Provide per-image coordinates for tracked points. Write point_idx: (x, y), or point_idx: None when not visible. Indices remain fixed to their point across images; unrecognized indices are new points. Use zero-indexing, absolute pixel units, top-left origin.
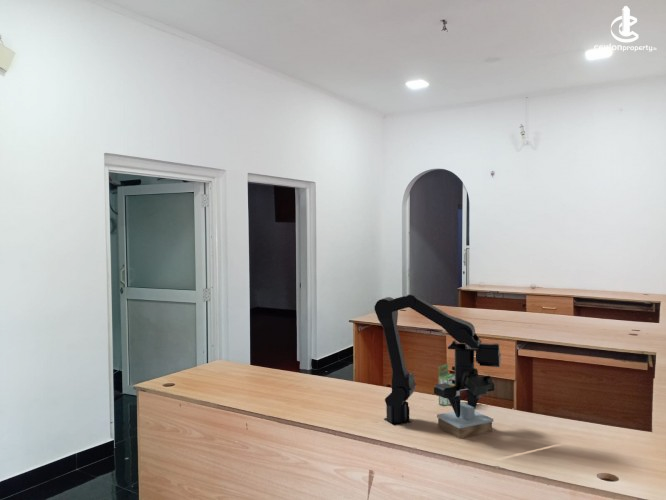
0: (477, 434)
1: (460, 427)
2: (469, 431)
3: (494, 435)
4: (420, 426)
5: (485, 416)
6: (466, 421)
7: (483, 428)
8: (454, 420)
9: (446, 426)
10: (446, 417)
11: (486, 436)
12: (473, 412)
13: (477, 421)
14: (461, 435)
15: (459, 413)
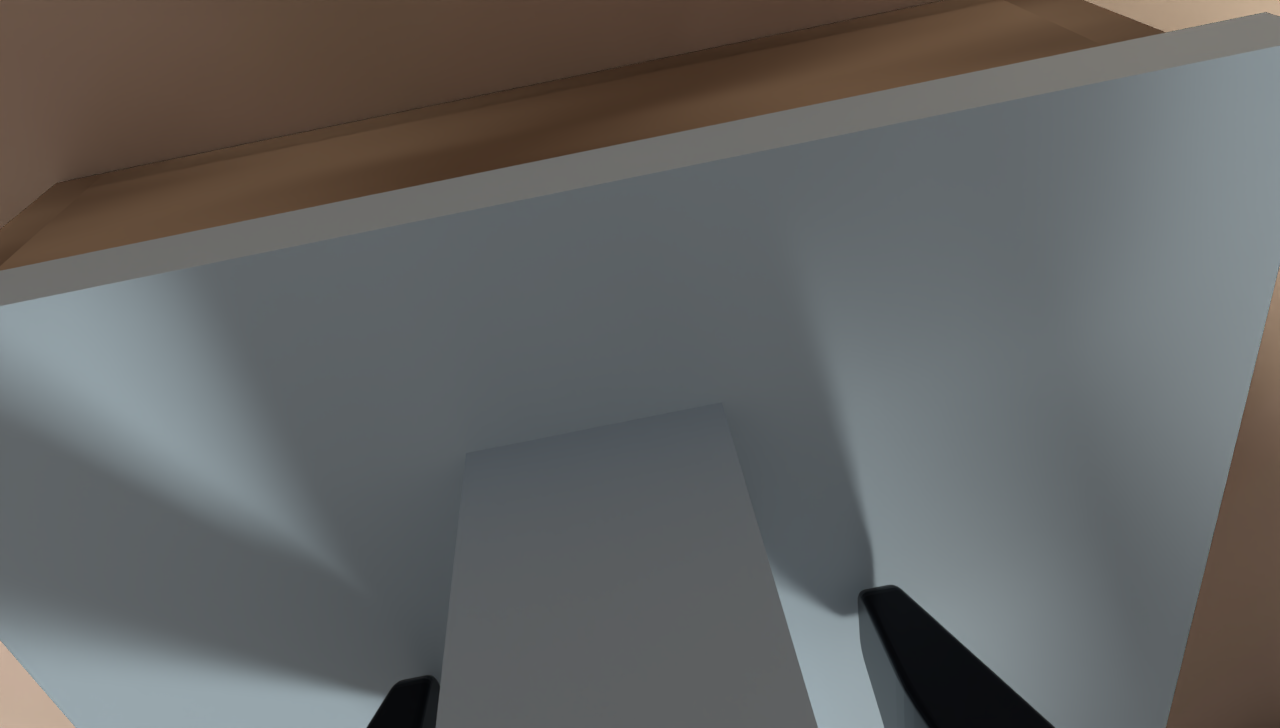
0: (494, 105)
1: (1226, 32)
2: (773, 84)
3: (25, 34)
4: None
5: (17, 577)
6: (830, 333)
7: (275, 187)
8: (1088, 471)
9: None
10: (1105, 658)
11: (271, 26)
12: (501, 616)
13: (464, 260)
14: (1023, 13)
15: (933, 669)
